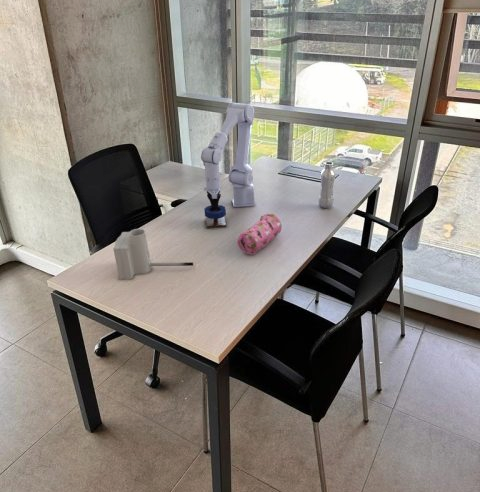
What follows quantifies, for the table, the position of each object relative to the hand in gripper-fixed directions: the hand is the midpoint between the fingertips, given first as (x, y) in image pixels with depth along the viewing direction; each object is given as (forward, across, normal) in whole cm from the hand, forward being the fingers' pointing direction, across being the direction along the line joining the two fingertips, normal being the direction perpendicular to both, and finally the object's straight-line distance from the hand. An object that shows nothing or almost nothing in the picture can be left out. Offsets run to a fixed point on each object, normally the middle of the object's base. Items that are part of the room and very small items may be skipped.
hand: (214, 208), depth 193 cm
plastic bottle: (+6, -6, +50) cm, 51 cm away
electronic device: (+6, +37, -23) cm, 44 cm away
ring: (+1, +3, 0) cm, 4 cm away
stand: (+6, +3, 0) cm, 7 cm away
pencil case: (+6, +24, +16) cm, 30 cm away
